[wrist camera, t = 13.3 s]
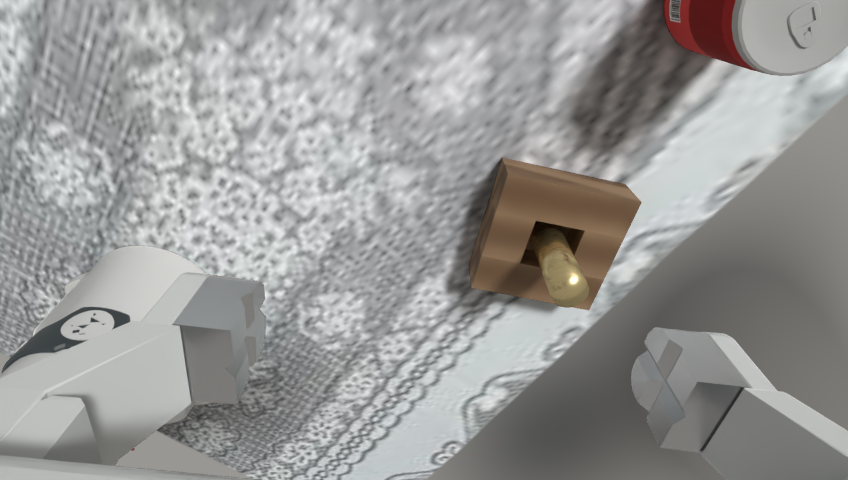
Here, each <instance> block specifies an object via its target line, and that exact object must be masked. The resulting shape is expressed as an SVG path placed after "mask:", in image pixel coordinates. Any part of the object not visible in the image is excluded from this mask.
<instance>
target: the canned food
mask: <svg viewBox="0 0 848 480" xmlns="http://www.w3.org/2000/svg"><path fill="white" fill-rule="evenodd" d="M664 17H665V22H666V25H667V27H668V29H669V32H670V33H671V35H672V36H673V38H674V39H675V41H676V42H678V43H679V44H680V45H681V46H682V47H684V48H686V49H688V50H690V51H693V52H696V53H699V54H702V55H706V56H709V57H712V58H715V59H718V60H721V61H725V62H728V63H731V64H734V65H737V66H741V67H744V68H747V69H750V70H754V71H758V72H761V73H766V74H770V75H778V76H792V75H797V74H802V73H806V72H808V71H811V70H813V69H816V68H818V67H820V66H822V65H823V64H825V63H827V62H829V61H830V60H832V59H833V58H834V57H835V56H837V55H838V54H839V53H841V52H842V51H843V50H844V49H845V48H846V47H847V46H848V0H664Z"/></svg>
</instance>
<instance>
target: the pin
mask: <svg viewBox="0 0 848 480" xmlns="http://www.w3.org/2000/svg"><path fill="white" fill-rule="evenodd" d="M530 240H531V243H532V246H533V248H534V251H535V254H536V257H537V260H538V262H539V265H540V268H541V271H542V274H543V276H544V279H545V282H546V285H547V287H548V290H549V293H550V296H551V299H552V300H553V302H554V303H555V304H557V305H558V306H561V307H574V306H577V305H579V304H581V303H582V302H583V301H584V300H585V299H586V298H587V297H588V294H589V286H588V283H587V281H586V279H585V277H584V275H583V273H582V271H581V269H580V267H579V265H578V263H577V261H576V259H575V257H574V255H573V253H572V251H571V249H570V247H569V245H568V243H567V241H566V239H565V236H564V234H563V232H562V230H561V228H560V226H559V225H555V224H550V223H545V222H540V221H536V222H535V224H534V227H533V230H532V232H531V235H530Z"/></svg>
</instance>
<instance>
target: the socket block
mask: <svg viewBox="0 0 848 480" xmlns="http://www.w3.org/2000/svg"><path fill="white" fill-rule="evenodd" d="M640 204H641V201H640V200H639V199H638V198H637V197H636V196H635V195H634V193H633V192H632V191H631V190H630V189H629V188H628V187H627V186H626V185H625V184H621V183H617V182H612V181H607V180H603V179H598V178H594V177H589V176H584V175H580V174H575V173H570V172H566V171H561V170H557V169H552V168H547V167H543V166H538V165H533V164H529V163H524V162H520V161H515V160H510V159H506V158H502V160H501V163H500V167H499V170H498V173H497V176H496V179H495V183H494V186H493V189H492V192H491V196H490V199H489V202H488V205H487V208H486V212H485V215H484V218H483V221H482V224H481V228H480V231H479V234H478V237H477V241H476V244H475V247H474V250H473V253H472V257H471V260H470V263H469V272H470V281H471V288H475V289H480V290H486V291H491V292H496V293H501V294H507V295H512V296H517V297H522V298H528V299H533V300H538V301H543V302H548V303H554V302H553V300H552V299H551V296H550V293H549V290H548V287H547V285H546V282H545V279H544V276H543V274H542V271H541V268H540V265H539V262H538V260H537V257H536V254H535V251H534V248H533V246H532V243H531V240H530V235H531V232H532V230H533V227H534V224H535V222H536V221H540V222H545V223H550V224H555V225H559V226H560V228H561V230H562V232H563V234H564V236H565V239H566V241H567V243H568V245H569V247H570V249H571V251H572V253H573V255H574V257H575V259H576V261H577V263H578V265H579V267H580V269H581V271H582V273H583V275H584V277H585V279H586V281H587V283H588V286H589V294H588V297H587V298H586V299H585V300H584V301H583V302H582V303H581V304H579V305H577V306H574V307H575V308H580V309H585V310H589V309H590V307H591V305H592V303H593V301H594V299H595V297H596V295H597V293H598V291H599V289H600V287H601V285H602V282H603V280H604V278H605V276H606V274H607V272H608V270H609V268H610V266H611V264H612V262H613V260H614V258H615V256H616V254H617V252H618V250H619V248H620V245H621V243H622V241H623V239H624V237H625V235H626V233H627V231H628V229H629V227H630V225H631V223H632V221H633V219H634V217H635V215H636V213H637V211H638V209H639V206H640ZM554 304H555V303H554Z"/></svg>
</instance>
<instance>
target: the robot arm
mask: <svg viewBox="0 0 848 480" xmlns="http://www.w3.org/2000/svg"><path fill="white" fill-rule="evenodd" d="M65 293H66V296H65V297H64V298H63V299H62V300H61V301H60V302H59V303H58V304H57V305H56V306H55V308H54V309H53V310H52V311H51V312H50V313H49V314H48V315H47V316H46V318H45V319H44V320H43V321H42V322H41V323H40V324H39V325H38V326H37V328H36V329H35V330H34V333H33V337H32V338H31V339H30V340H29V341H26V342H24V343H23V344H22V345H21V346H20V347H19V348H18V349H17V350H16V351H15V353H14V355H13V356H12V357H11V358H10V359H9V360H8V361H7V362H6V364H5V365H4V367H3V370H2V373H1V375H0V480H260V479H249V478H238V477H227V476H217V475H207V474H195V473H185V472H174V471H164V470H152V469H142V468H132V467H121V466H115V464H116V463H117V461H118V459H120V458H121V457H122V456H124V455H125V454H126V453H127V452H129V451H130V450H134V447H135V446H137V445H138V444H139V443H141V442H142V441H143V440H144V439H146V438H147V437H148V436H150V435H151V434H152V433H154V432H155V431H156V430H158V429H159V428H160V427H161V426H163V425H164V424H170V423H175V422H178V421H180V420H182V419H184V418H185V417H186V416H187V415H188V413H189V412H190V410H191V409H192V407H193V405H203V404H209V403H225V404H238V402H239V400H240V397H241V395H242V393H243V391H244V389H245V387H246V384H247V382H248V380H249V366H251V365H252V364H254V363H255V362H257V360H258V358H259V355H260V353H261V351H262V347H263V343H264V339H265V330H266V316H265V315H264V314H263V313H262V311H261V310H260V308H261V306H262V304H263V302H264V300H265V293H264V285H263V283H262V282H261V281H254V280H246V279H239V278H232V277H224V276H217V275H209V274H205V273H204V272H203V271H202V270H201V269H200V268H199V267H197V266H196V265H194V264H193V263H192V262H190V261H188V260H187V259H185V258H183V257H181V256H179V255H177V254H175V253H172V252H170V251H167V250H163V249H160V248H155V247H149V246H128V247H122V248H119V249H116V250H113V251H111V252H109V253H107V254H106V255H104V256H103V257H102V258H101V259H100V260H99V261H98V262H97V263H96V264H95V266H94V267H93V268H92V269H91V270H90V271H89V272H87V273H84V274H82V275H79V276H76V277H74V278H73V279H71V280H70V281H69V283H68V284H67V285H66V286H65ZM645 344H646V347H647V350H648V351H646V352H645V353H643V354H642V355H640V356H639V357H637V359H636V361H635V364H634V366H633V369H632V378H631V384H632V388H633V393H634V395H635V397H636V399H637V401H638V403H639V404H641V405H642V406H643V407H645V408H646V409H647V410H648V411H649V414H648V417H647V422H648V424H649V426H650V428H651V430H652V432H653V434H654V436H655V438H656V441H657V443H658V445H659V447H661V448H669V449H675V450H683V451H691V452H698V453H702V454H701V455H702V456H703V457H704V458H705V459H706V460H707V461H708V462H709V463H710V464H711V465H712V466H713V467H714V468H715V469H716V470H717V471H718V472H719V473H720V474H721V475H722V476H723V477H724V478H725V479H726V480H848V431H847V430H845V429H843V428H842V427H840V426H839V425H837V424H836V423H834V422H832V421H830V420H829V419H828V418H826V417H824V416H822V415H821V414H819V413H818V412H816V411H815V410H813V409H811V408H810V407H808V406H807V405H805V404H803V403H802V402H800V401H798V400H797V399H795V398H794V397H792V396H790V395H789V394H787V393H785V392H779V391H777V390H776V389H775V388H774V386H773V385H772V384H771V383H770V382H769V381H768V379H767V378H766V377H765V376H764V374H763V373H762V372H761V371H760V370H759V369H758V367H757V366H756V365H755V364H754V363H753V361H752V360H751V359H750V358H749V357H748V355H747V354H746V353H745V352H744V351H743V349H742V348H741V347H740V346H739V345H738V344H737V342H736V341H735V340H734V339H733V338H732V337H730V336H728V335H726V334H722V333H709V332H692V331H683V330H673V329H664V328H654V329H652V330H651V331H650V332H649V334H648V336H647V338H646V340H645Z"/></svg>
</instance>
